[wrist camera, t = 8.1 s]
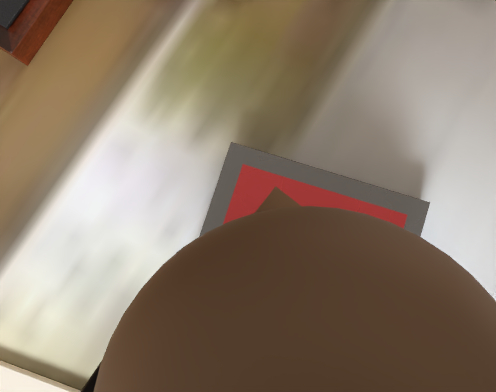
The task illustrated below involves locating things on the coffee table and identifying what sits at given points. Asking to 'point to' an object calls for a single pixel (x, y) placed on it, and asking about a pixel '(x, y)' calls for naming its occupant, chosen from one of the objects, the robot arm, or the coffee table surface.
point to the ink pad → (302, 191)
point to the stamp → (305, 312)
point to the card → (27, 381)
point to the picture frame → (28, 25)
